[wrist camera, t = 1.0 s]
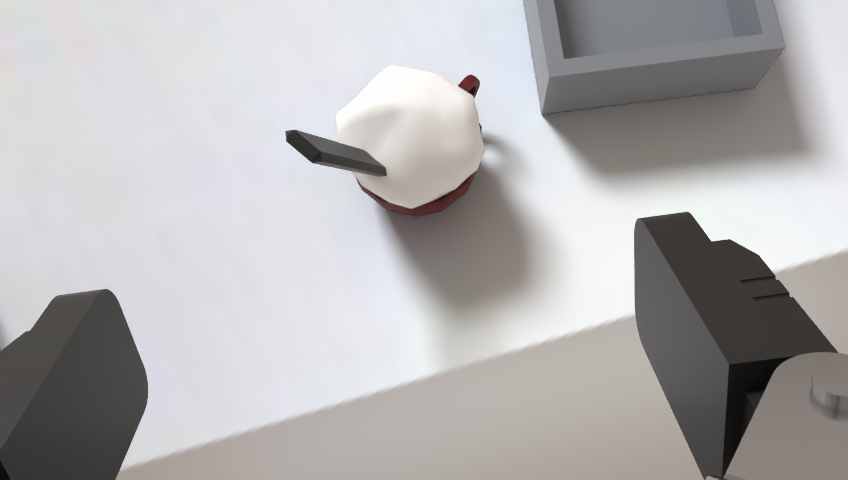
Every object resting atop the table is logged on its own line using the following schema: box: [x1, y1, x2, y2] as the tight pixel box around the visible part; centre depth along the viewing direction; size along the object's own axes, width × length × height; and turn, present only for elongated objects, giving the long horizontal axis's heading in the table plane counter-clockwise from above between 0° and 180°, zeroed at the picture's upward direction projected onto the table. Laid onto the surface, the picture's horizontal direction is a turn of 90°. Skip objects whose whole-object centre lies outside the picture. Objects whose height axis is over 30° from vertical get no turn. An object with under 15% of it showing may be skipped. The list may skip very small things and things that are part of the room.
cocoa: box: [285, 65, 485, 216], centre depth 33 cm, size 10×6×12 cm, turn 117°
